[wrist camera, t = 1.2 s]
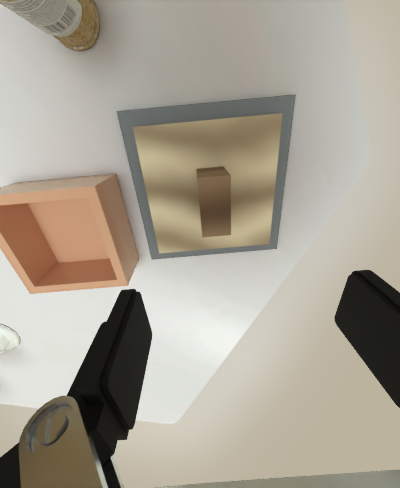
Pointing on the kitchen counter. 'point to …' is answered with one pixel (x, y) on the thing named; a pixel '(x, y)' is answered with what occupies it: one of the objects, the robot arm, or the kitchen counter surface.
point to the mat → (201, 113)
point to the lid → (210, 181)
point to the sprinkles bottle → (61, 19)
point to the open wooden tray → (67, 233)
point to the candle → (8, 339)
